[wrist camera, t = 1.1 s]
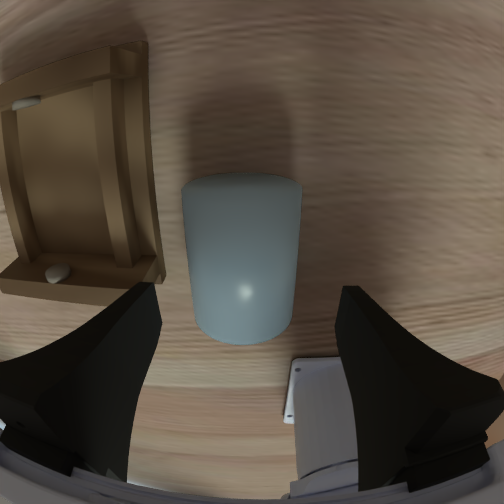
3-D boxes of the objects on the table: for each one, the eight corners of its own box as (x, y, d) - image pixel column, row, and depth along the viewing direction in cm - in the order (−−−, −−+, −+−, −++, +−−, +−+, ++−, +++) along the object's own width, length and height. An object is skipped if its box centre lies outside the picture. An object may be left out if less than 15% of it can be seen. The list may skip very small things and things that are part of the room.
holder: (166, 275, 19) (144, 321, 15) (38, 269, 19) (6, 302, 15) (148, 43, 12) (110, 28, 8) (6, 86, 13) (-41, 93, 9)
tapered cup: (296, 288, 19) (286, 351, 14) (211, 279, 20) (180, 334, 15) (304, 175, 15) (298, 210, 11) (205, 171, 16) (159, 202, 12)
